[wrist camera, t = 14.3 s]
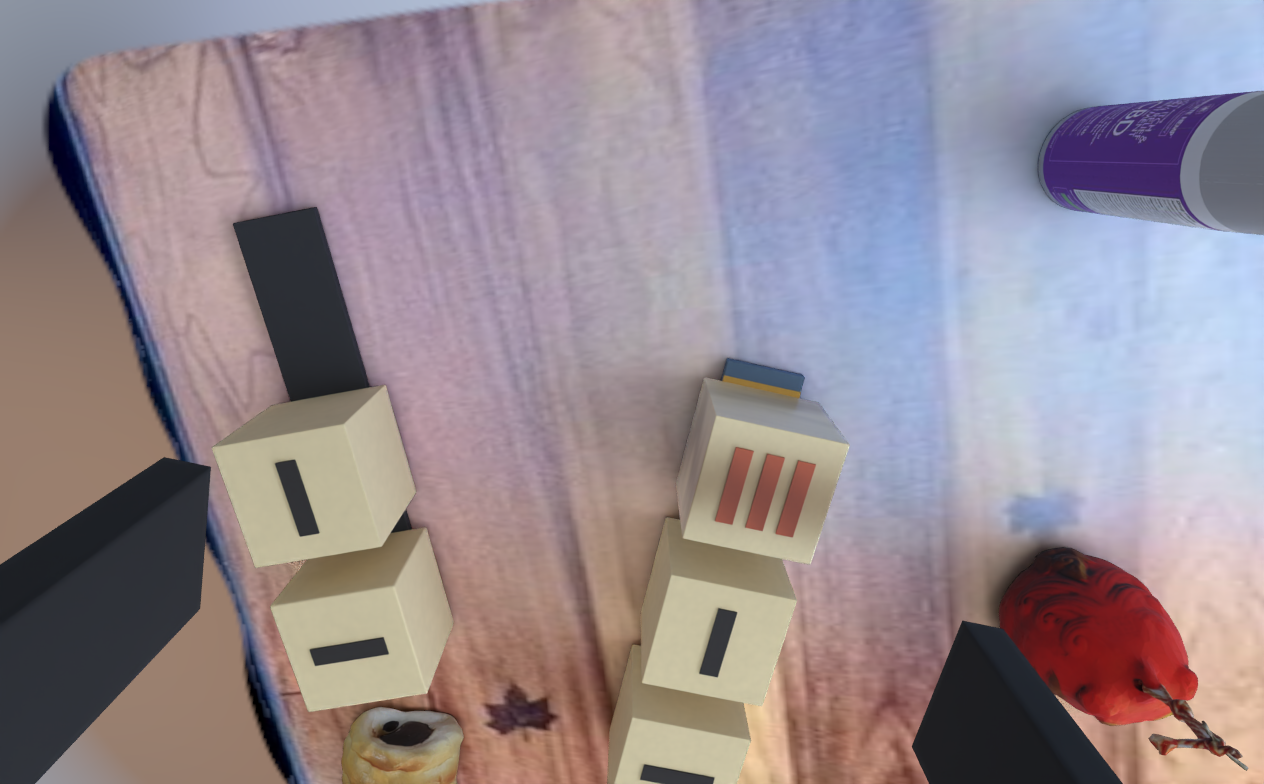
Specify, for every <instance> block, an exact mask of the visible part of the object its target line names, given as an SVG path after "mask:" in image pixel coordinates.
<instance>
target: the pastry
mask: <svg viewBox="0 0 1264 784" xmlns="http://www.w3.org/2000/svg"><path fill="white" fill-rule="evenodd" d="M463 738H464V736H463V732H462V728H461V727H460V726H459V725H458V724H457V721H456V720H455V718H454V717H453V716H451V715H449V714H446V713H439V712H433V711H410V712H402V711H399V710H396V709H391V708H385V707H376V708H374V709H371V710H368V711H366V712H364V713H362V714H361V715H360V716H359V717H358V718H357V719H356V720H355V721H354V722H353V724H352V725H351V730H350V732H349V734H348V735H347V737H346V738H345V740H344V745H343V756H342V760H341V763H342V770H343V775H342V783H343V784H457V780H456V776H457V767H458V762H459V752H460V744H461V742H462V740H463Z"/></svg>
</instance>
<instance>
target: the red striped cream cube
mask: <svg viewBox="0 0 1264 784" xmlns="http://www.w3.org/2000/svg"><path fill="white" fill-rule="evenodd" d="M849 446H850V444H849V443H848V442H847V440H846V439H845V438H844V436H843V435H842V434H841V432H840V431H839V429H838V428H837V427H836V425H835V424H834V423H833V421H832V420H831V419H830V417H829V416H828V414H827V413H826V412H825V410H824V409H823V408H822V406H821V405H820V404H819V403H818V402H814V401H809V400H805V399H800V398H796V397H791V396H787V395H782V394H778V393H773V392H769V391H764V390H760V389H755V388H751V387H746V386H742V385H737V384H733V383H728V382H724V381H719V380H715V379H710V378H706V377H705V378H704V380H703V383H702V387H701V391H700V395H699V398H698V402H697V406H696V410H695V413H694V417H693V421H692V425H691V429H690V432H689V436H688V440H687V444H686V447H685V451H684V455H683V459H682V462H681V466H680V470H679V474H678V478H677V481H676V490H677V498H678V506H679V514H680V522H681V530H682V538H684V539H689V540H693V541H698V542H703V543H708V544H713V545H717V546H722V547H727V548H732V549H737V550H741V551H746V552H751V553H756V554H761V555H765V556H770V557H775V558H780V559H785V560H789V561H794V562H799V563H804V564H809V565H810V564H811V561H812V558H813V555H814V552H815V549H816V546H817V543H818V540H819V537H820V534H821V531H822V528H823V525H824V522H825V518H826V515H827V512H828V509H829V506H830V503H831V500H832V497H833V494H834V491H835V488H836V485H837V482H838V479H839V476H840V473H841V470H842V467H843V464H844V461H845V458H846V455H847V452H848V449H849Z"/></svg>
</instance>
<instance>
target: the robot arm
mask: <svg viewBox="0 0 1264 784" xmlns="http://www.w3.org/2000/svg"><path fill="white" fill-rule="evenodd" d="M210 471H211V467H209V466H204V465H199V464H194V463H190V462H185V461H180V460H175V459H170V458H165V457H164V458H162V459H161V460H159V461H158V462H156V463H155V464H153V465H152V466H150V467H149V468H147V469H145V470H144V471H142V472H141V473H139V474H138V475H136V476H135V477H133V478H132V479H130V480H129V481H127V482H126V483H124V484H123V485H121V486H120V487H118V488H117V489H115V490H113V491H112V492H110V493H109V494H107V495H106V496H104V497H103V498H101V499H100V500H98V501H97V502H95V503H93V504H92V505H91V506H89V507H87V508H86V509H84V510H83V511H81V512H80V513H78V514H77V515H75V516H74V517H72V518H71V519H69V520H68V521H66V522H65V523H63V524H61V525H60V526H58V527H57V528H55V529H54V530H52V531H51V532H49V533H48V534H46V535H45V536H43V537H42V538H40V539H39V540H37V541H36V542H34V543H33V544H31V545H30V546H28V547H26V548H25V549H23V550H22V551H20V552H19V553H17V554H16V555H14V556H13V557H11V558H10V559H8V560H7V561H5V562H4V563H2V564H1V565H0V784H35V783H36V782H37V781H38V780H39V779H40V778H41V777H42V776H43V774H45V773H46V771H47V770H48V769H49V768H50V767H51V766H52V765H53V764H54V763H55V762H56V761H57V760H58V759H59V758H60V757H61V756H62V754H63V753H64V752H65V751H66V750H67V749H68V748H69V747H70V746H71V745H72V744H73V743H74V742H75V741H76V740H77V738H79V737H80V735H81V734H82V733H83V732H84V731H85V730H86V729H87V728H88V727H89V726H90V725H91V724H92V722H94V721H95V720H96V718H97V717H98V716H99V715H100V714H101V713H102V712H103V711H104V710H105V709H106V708H107V707H108V706H109V705H110V704H111V703H112V702H113V700H114V699H115V698H116V697H117V696H118V695H119V694H120V693H121V692H122V691H123V690H124V689H125V688H126V687H127V686H128V685H129V684H130V683H131V681H132V680H133V679H134V678H135V677H136V676H137V675H138V674H139V673H140V672H141V671H142V670H143V669H144V668H145V667H146V666H147V664H148V663H149V662H150V661H151V660H152V659H153V658H154V657H155V656H156V655H157V654H158V653H159V652H160V651H161V650H162V648H164V646H165V645H166V644H167V643H168V642H169V641H170V640H171V639H172V638H173V637H174V636H175V635H176V634H177V633H178V632H179V631H180V630H181V628H182V627H183V626H184V625H185V624H186V623H187V622H188V621H189V620H190V619H191V618H192V617H193V616H194V615H195V614H196V613H197V612H198V610H199V609H200V602H201V589H202V575H203V563H204V550H205V537H206V523H207V510H208V497H209V484H210ZM912 748H913V750H914V752H915V754H916V756H917V759H918V761H919V763H920V765H921V767H922V769H923V771H924V774H925V776H926V778H927V780H928V782H929V784H1123V783H1122V782H1121V781H1120V779H1119V778H1118V777H1117V776H1116V774H1115V773H1114V772H1113V770H1112V769H1111V768H1110V766H1109V765H1108V764H1107V763H1106V761H1105V760H1104V759H1103V757H1102V756H1101V755H1100V754H1099V752H1098V751H1097V750H1096V748H1095V747H1094V746H1093V744H1092V743H1091V742H1090V741H1089V739H1088V738H1087V737H1086V735H1085V734H1084V733H1083V731H1082V730H1081V729H1080V728H1079V726H1078V725H1077V724H1076V722H1075V721H1074V720H1073V719H1072V717H1071V716H1070V715H1069V713H1068V712H1067V711H1066V709H1065V708H1064V707H1063V706H1062V704H1061V703H1060V702H1059V700H1058V699H1057V698H1056V696H1055V695H1054V694H1053V693H1052V691H1051V690H1050V689H1049V687H1048V686H1047V685H1046V684H1045V682H1044V681H1043V680H1042V678H1041V677H1040V676H1039V674H1038V673H1037V672H1036V671H1035V669H1034V668H1033V667H1032V665H1031V664H1030V663H1029V661H1028V660H1027V659H1026V658H1025V656H1024V655H1023V654H1022V652H1021V651H1020V650H1019V649H1018V647H1017V646H1016V645H1015V643H1014V642H1013V641H1012V639H1011V638H1010V637H1009V636H1008V634H1007V633H1006V632H1005V630H1004V629H1001V628H996V627H991V626H986V625H981V624H976V623H971V622H967V621H962V623H961V625H960V628H959V630H958V633H957V635H956V638H955V640H954V643H953V645H952V648H951V650H950V653H949V655H948V658H947V660H946V663H945V665H944V668H943V670H942V673H941V675H940V678H939V680H938V683H937V685H936V688H935V690H934V693H933V695H932V698H931V700H930V703H929V705H928V708H927V710H926V713H925V715H924V718H923V720H922V722H921V725H920V727H919V730H918V732H917V735H916V737H915V740H914V742H913V745H912Z"/></svg>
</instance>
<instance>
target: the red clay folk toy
mask: <svg viewBox="0 0 1264 784" xmlns="http://www.w3.org/2000/svg"><path fill="white" fill-rule="evenodd" d="M999 621H1000V628H1001V629H1004V630H1005V632H1006V633H1007V634H1008V636H1009V637H1010V638H1011V639H1012V641H1013V642H1014V643H1015V645H1016V646H1017V647H1018V649H1019V650H1020V651H1021V652H1022V654H1023V655H1024V656H1025V658H1026V659H1027V660H1028V661H1029V663H1030V664H1031V665H1032V667H1033V668H1034V669H1035V671H1036V672H1037V673H1038V674H1039V676H1040V677H1041V678H1042V680H1043V681H1044V682H1045V684H1046V685H1047V686H1048V687H1049V689H1050V690H1051V691H1052V693H1053V694H1054V695H1057V696H1059V697H1061V698H1062V699H1064V700H1065V701H1066V702H1068V703H1069V704H1071V705H1072V706H1073V707H1075V708H1076V709H1078V710H1080V711H1082V712H1084V713H1086V714H1089V715H1093V716H1095V717H1096V718H1097V719H1098V720H1099V721H1100V722H1101V723H1102V724H1106V725H1109V726H1117V725H1126V724H1131V723H1136V722H1143V721H1154V720H1159V719H1163V718H1166V717H1168V716H1171V715H1174V717H1175V718H1176V719H1178V720H1179V721H1182V722H1185V723H1186V724H1187V725H1188V726H1189V727H1190V728H1191V730H1192V731H1193V732H1194V733H1195V735H1196V736H1197V737H1198V739H1197V740H1196V739H1173V738H1169V737H1165V736H1162V735H1158V734H1152V736H1151V737H1149V738H1148V739H1149V740H1150V742H1151V743H1152V744H1153V745H1154V746H1155V748H1156V749H1157V750H1159V754H1161V755H1167V754H1168V753H1169V752H1170V751H1172V750H1173V749H1174V748H1199V749H1207V750H1209V751H1210V752H1211V753H1212V754H1214V755H1217V756H1219V757H1220V756H1223V755H1225V754H1226V755H1227V756H1228V757H1229V758H1230V759H1232V760H1233V761H1234V762H1235V763H1237V764H1238V765H1239V766H1241V767H1242V768H1243V769H1244V770H1246V771H1247V770H1248V767H1247V766H1245V765H1244V764H1243V763H1241V762H1240V761H1239V760H1238V759H1239V758H1241V757H1243V756H1242V755H1241V754H1240V752H1239V751H1238V750H1237V749H1235V748H1232V747H1230V746H1226V743H1225V741H1224V740H1223V739H1222V738H1220V737H1219V736H1217V735H1216V734H1214V733H1213V732H1211V731H1210V730H1209V728H1208V726H1207V724H1206V723H1205V722H1204V721H1202V723H1200V722H1199V721H1197V720H1196V719H1194V718H1193V717H1194V714H1193V712H1192V710H1191V708H1190V707H1189V705H1188V704H1187V702H1186V700H1190V699H1192V698H1193V697H1194V695H1195V693H1196V691H1197V687H1198V678H1197V676H1196V674H1195V673H1194V672H1193V671H1191V670H1190V669H1189V667H1188V656H1187V653H1186V650H1185V647H1184V644H1183V641H1182V638H1181V636H1180V633H1179V631H1178V630H1177V628H1176V626H1175V625H1174V623H1173V621H1172V620H1171V618H1170V616H1169V615H1168V613H1167V612H1166V611H1165V610H1164V608H1163V607H1162V605H1161V604H1160V602H1159V601H1158V599H1156V598H1155V597H1154V596H1152V594H1151V593H1150V591H1149V590H1148V588H1147V587H1146V586H1145V585H1144V584H1143V583H1142V582H1140V581H1139V580H1138V579H1137V578H1135V577H1134V576H1132V575H1130V574H1129V573H1127V572H1125V571H1124V570H1123V569H1121V568H1119V567H1117V566H1115V565H1114V564H1112V563H1110V562H1108V561H1106V560H1103V559H1100V558H1096V557H1092V556H1088V555H1084V554H1082V553H1080V552H1078V551H1076V550H1074V549H1072V548H1065V547H1062V548H1054V549H1048V550H1046V551H1043V552H1041V553H1040V554H1038V555H1037V556H1036V557H1035V560H1034V562H1033V563H1032V565H1031V566H1030V567H1029V568H1028V569H1026V570H1025V571H1022V572H1021V573H1020V574H1019V575H1018V577H1017V578H1016V579H1015V580H1014V581H1013V582H1012V584H1011V585H1010V586H1009V587H1008V589H1007V591H1006V593H1005V595H1004V596H1003V598H1002V600H1001V602H1000V606H999Z"/></svg>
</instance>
